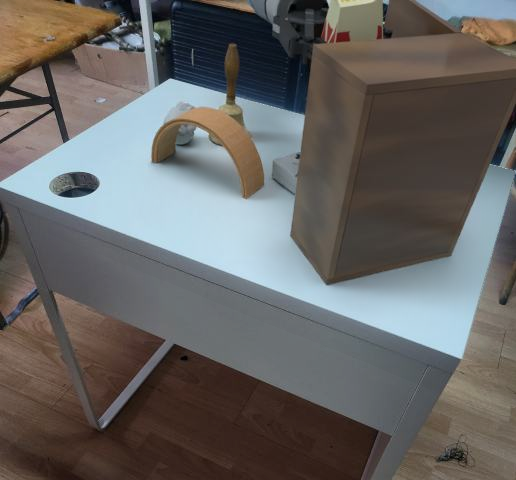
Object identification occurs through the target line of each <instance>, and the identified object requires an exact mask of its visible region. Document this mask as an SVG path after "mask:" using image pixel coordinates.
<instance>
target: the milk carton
mask: <svg viewBox="0 0 516 480" xmlns="http://www.w3.org/2000/svg"><path fill="white" fill-rule="evenodd" d="M383 26H384V0H330V2H329V9H328V13H327V17H326V20H325V24H324V28H323V32H322V35H321V38H322V39H323V40H325V41H326V42H327V43H337V42H350V41H363V40H376V39H383Z"/></svg>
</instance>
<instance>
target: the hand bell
mask: <svg viewBox="0 0 516 480" xmlns="http://www.w3.org/2000/svg"><path fill="white" fill-rule="evenodd" d="M239 73H240V56H239V51H238V47H237V44H236V43H229V44H228V48H227V51H226V54H225V58H224V75H225V79H226V97H225V100H226V101H225V103H224V104H221V105H219V107H218V110H220V111H222V112H224V113H226V114H227V115H229V116H230V117H232V118H233V119H234V120H236V121H237V122H238V123H239V124H240V125H241V126H242V127H243V128H244V130H245V131H246V132H247V133H248V135H249V136H250V138H251V139H252V138H253V137H252V134H251V132H250V131H249V129H248V128H247V126H246V124H245V120H244V113H243V112H244V111H243V108H242V107H241V106H240V105H239V104H237V103H236V98H237V96H236V94H237V93H236V91H237V90H236V89H237V88H236V87H237V80H238V77H239ZM208 138H209V140H210V141H211V142H213V143H214V144H216V145H219V146H222V145H221V143H220V142H218V141H217V140H216V139H215V138H214V137H213V136H212V135H210V134H209V133H208Z"/></svg>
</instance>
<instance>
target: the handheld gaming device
mask: <svg viewBox="0 0 516 480" xmlns="http://www.w3.org/2000/svg"><path fill="white" fill-rule="evenodd" d="M300 152H301V151H298V152H295V153H291V154H288V155H284V156H280V157H278V158H274V159H273V160H272V165H271V166H272V167H271V168H272V169H271V178H273V179H274V180H276V181H277V182H278V183H279V184H280V185H282V186H283V187H284V188H286V189H287V190H288V191H289V192H290V193H292V194H293V195H295V193H296V185H297V176H298V168H299V160H300Z"/></svg>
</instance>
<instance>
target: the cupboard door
mask: <svg viewBox="0 0 516 480" xmlns="http://www.w3.org/2000/svg"><path fill="white" fill-rule="evenodd" d="M383 26H384V27H385V28H387V29H389V30H391V31H393V33H392V37H391V38H402V37H415V36H428V35H441V34H454V33H463V31H461V30H460V29H458V28H457V27H455V26H454V25H452V24H451V23H450V22H448V21H447V20H445V19H444V18H442V17H441V16H440V15H438V14H436V13H435V12H434V11H432V10H430V9H429V8H428V7H426V6H425V5H423V4H422V3H420V2H419V1H417V0H388V4H387V9H386V13H385V18H384V22H383Z"/></svg>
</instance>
